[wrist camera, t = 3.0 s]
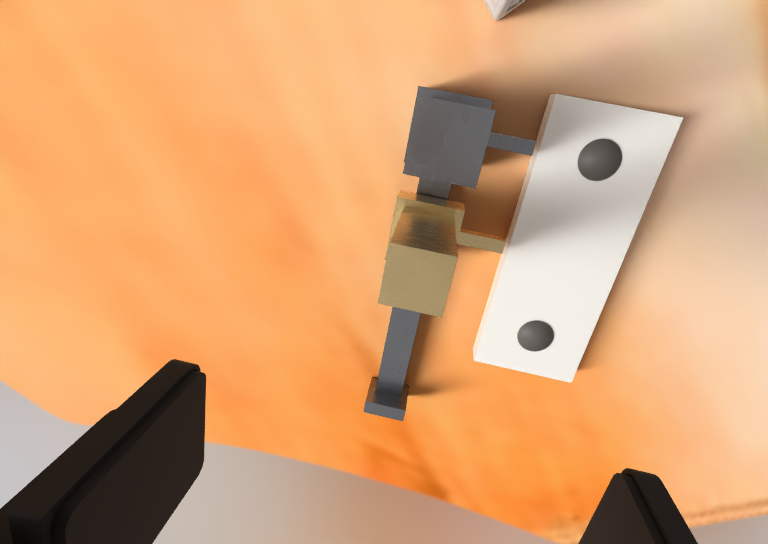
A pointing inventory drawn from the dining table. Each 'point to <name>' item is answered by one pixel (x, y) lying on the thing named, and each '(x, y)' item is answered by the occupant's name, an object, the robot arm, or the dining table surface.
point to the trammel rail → (437, 172)
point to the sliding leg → (426, 252)
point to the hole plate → (571, 232)
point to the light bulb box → (501, 7)
